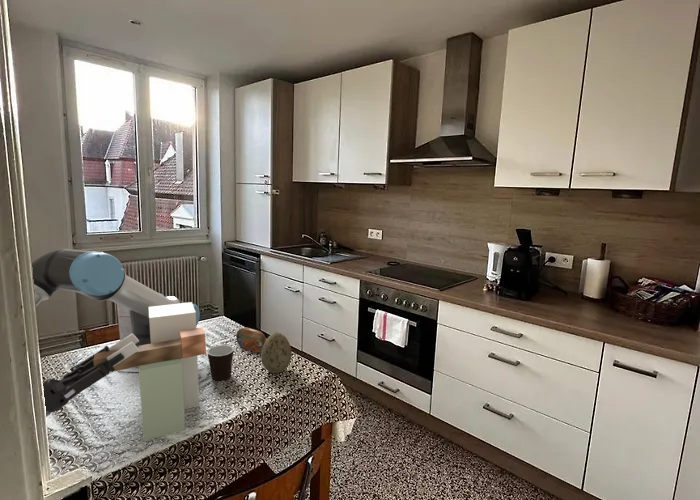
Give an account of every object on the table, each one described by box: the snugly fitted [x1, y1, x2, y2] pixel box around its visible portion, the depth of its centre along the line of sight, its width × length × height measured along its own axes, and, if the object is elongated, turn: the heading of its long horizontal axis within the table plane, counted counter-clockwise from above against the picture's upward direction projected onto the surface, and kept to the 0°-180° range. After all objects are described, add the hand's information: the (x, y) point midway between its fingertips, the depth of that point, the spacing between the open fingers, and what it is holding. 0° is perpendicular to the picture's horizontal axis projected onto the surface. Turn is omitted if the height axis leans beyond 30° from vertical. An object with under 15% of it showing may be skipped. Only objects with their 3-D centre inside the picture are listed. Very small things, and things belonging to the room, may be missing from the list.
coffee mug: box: [206, 344, 235, 383], centre depth 134 cm, size 12×9×10 cm
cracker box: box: [116, 303, 132, 341], centre depth 157 cm, size 14×6×21 cm, turn 5°
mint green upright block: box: [138, 358, 186, 442], centre depth 104 cm, size 10×9×21 cm
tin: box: [235, 327, 267, 354], centre depth 155 cm, size 15×3×8 cm, turn 58°
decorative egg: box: [260, 332, 293, 374], centre depth 137 cm, size 11×11×15 cm
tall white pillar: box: [149, 301, 200, 410], centre depth 115 cm, size 12×10×30 cm
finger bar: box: [93, 326, 207, 373], centre depth 101 cm, size 26×5×6 cm, turn 118°
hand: (135, 341), depth 99 cm, fingers open, 5 cm apart
